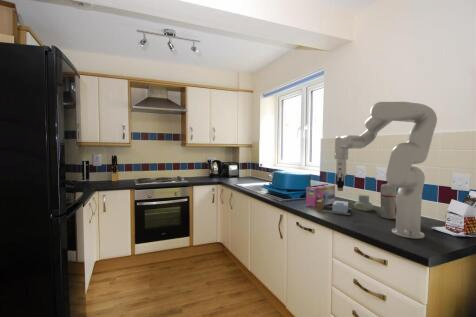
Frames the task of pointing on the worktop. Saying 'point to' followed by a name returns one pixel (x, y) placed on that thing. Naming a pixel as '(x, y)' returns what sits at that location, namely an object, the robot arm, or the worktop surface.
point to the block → (340, 206)
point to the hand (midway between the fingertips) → (340, 187)
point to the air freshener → (363, 203)
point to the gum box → (320, 194)
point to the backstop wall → (320, 204)
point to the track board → (334, 211)
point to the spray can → (388, 201)
